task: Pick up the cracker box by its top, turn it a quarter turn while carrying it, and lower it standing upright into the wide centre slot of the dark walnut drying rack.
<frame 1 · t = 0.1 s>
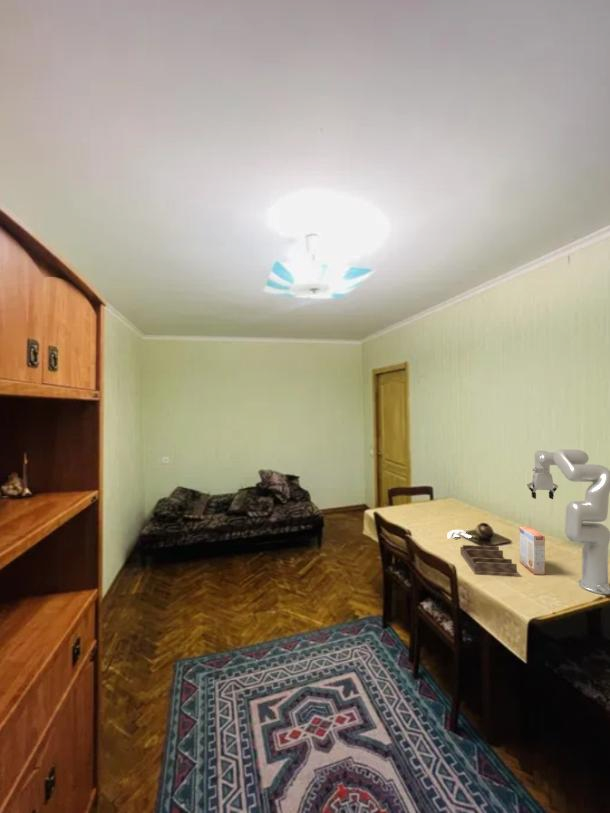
hand: (542, 498, 208), 31 cm above the table, fingers open, 9 cm apart
cracker box: (532, 568, 183), on the table
cloth: (459, 537, 230), on the table
rack: (487, 564, 188), on the table
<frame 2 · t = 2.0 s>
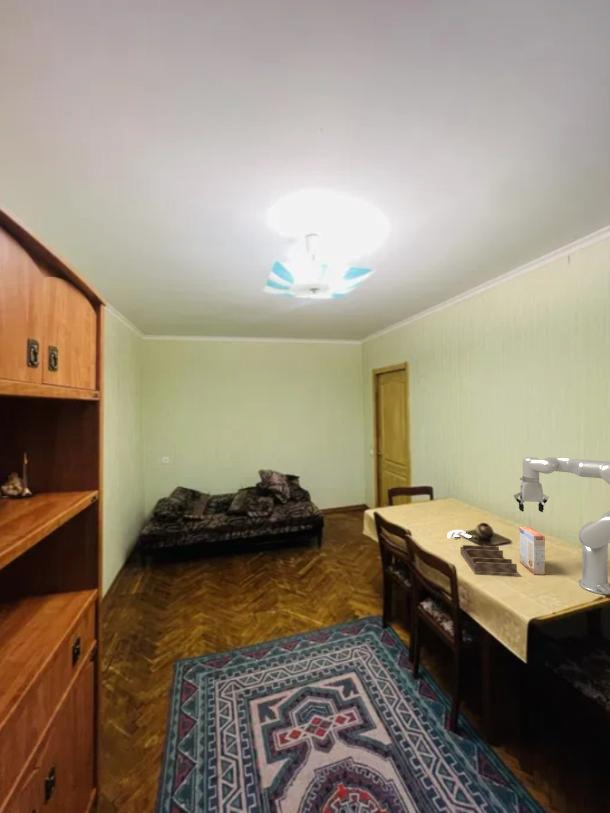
hand: (531, 511, 183), 32 cm above the table, fingers open, 9 cm apart
nothing on the table moved.
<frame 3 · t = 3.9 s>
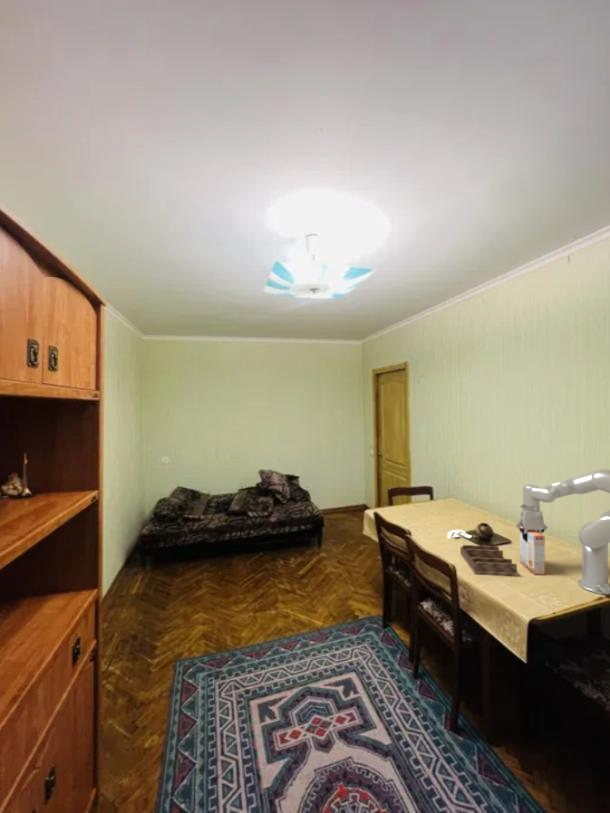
hand: (531, 540, 183), 16 cm above the table, fingers closed on cracker box, 6 cm apart
cracker box: (532, 568, 183), on the table, touching gripper
everything else where it was.
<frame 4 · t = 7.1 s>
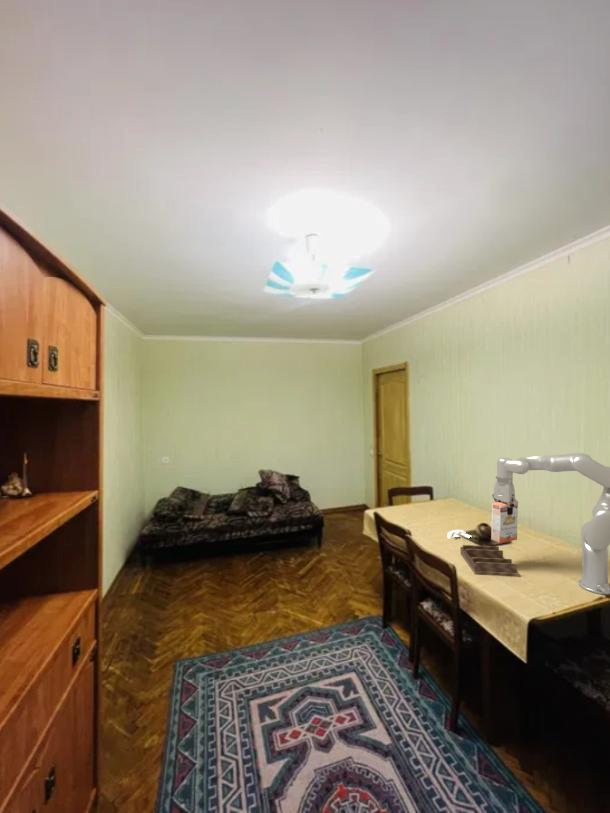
hand: (504, 512, 186), 30 cm above the table, fingers closed on cracker box, 6 cm apart
cracker box: (504, 540, 187), point 14 cm above the table, touching gripper
everything else where it was.
when the fingers open (18 cm above the table, at t = 10.4 s): cracker box drops 1 cm, resting on rack.
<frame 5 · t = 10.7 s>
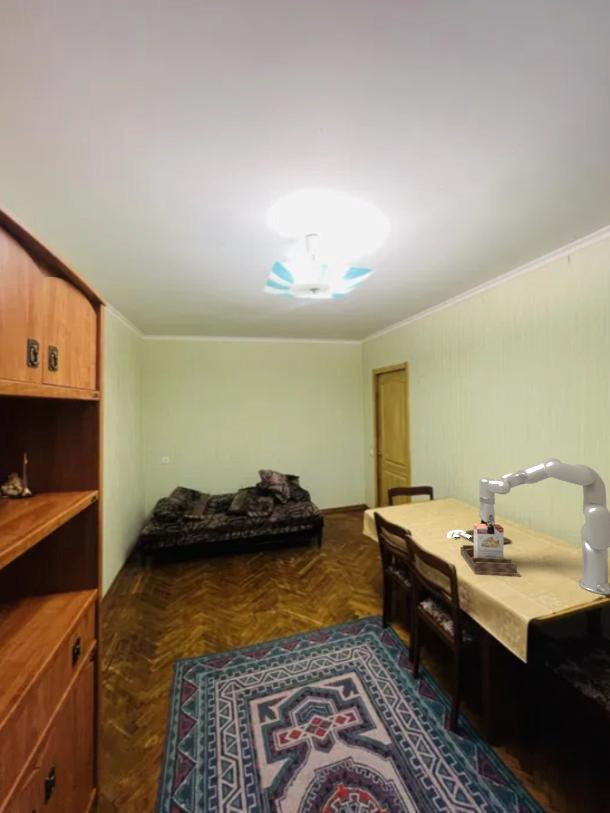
hand: (487, 530, 188), 19 cm above the table, fingers open, 9 cm apart
cracker box: (488, 562, 188), point 1 cm above the table, touching rack
everything else where it was.
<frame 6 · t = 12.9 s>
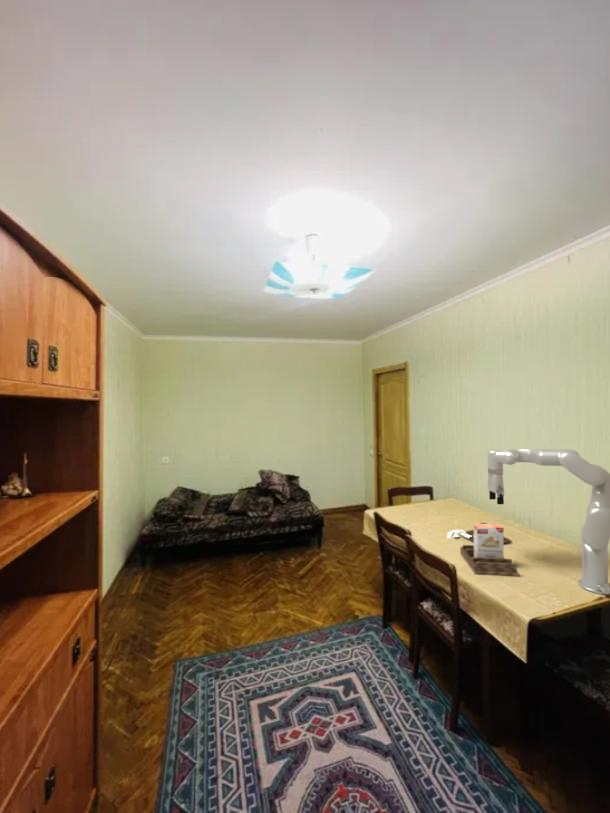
hand: (496, 501, 190), 35 cm above the table, fingers open, 9 cm apart
nothing on the table moved.
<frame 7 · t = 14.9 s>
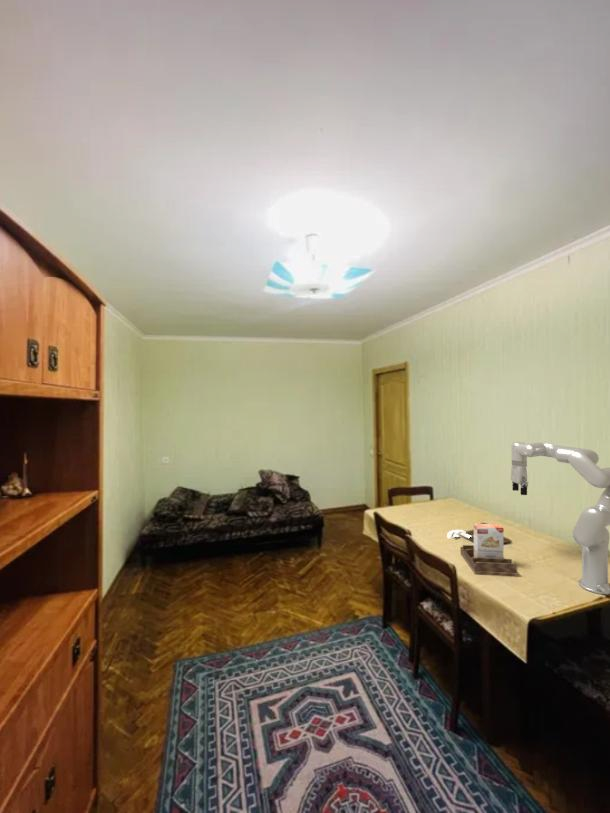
hand: (519, 492, 196), 38 cm above the table, fingers open, 9 cm apart
nothing on the table moved.
at the end: cracker box inside the target area on the rack (0.4 cm from its centre), point 1.3 cm above the rack's base; cracker box tilted 0°; the gripper is holding nothing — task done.
